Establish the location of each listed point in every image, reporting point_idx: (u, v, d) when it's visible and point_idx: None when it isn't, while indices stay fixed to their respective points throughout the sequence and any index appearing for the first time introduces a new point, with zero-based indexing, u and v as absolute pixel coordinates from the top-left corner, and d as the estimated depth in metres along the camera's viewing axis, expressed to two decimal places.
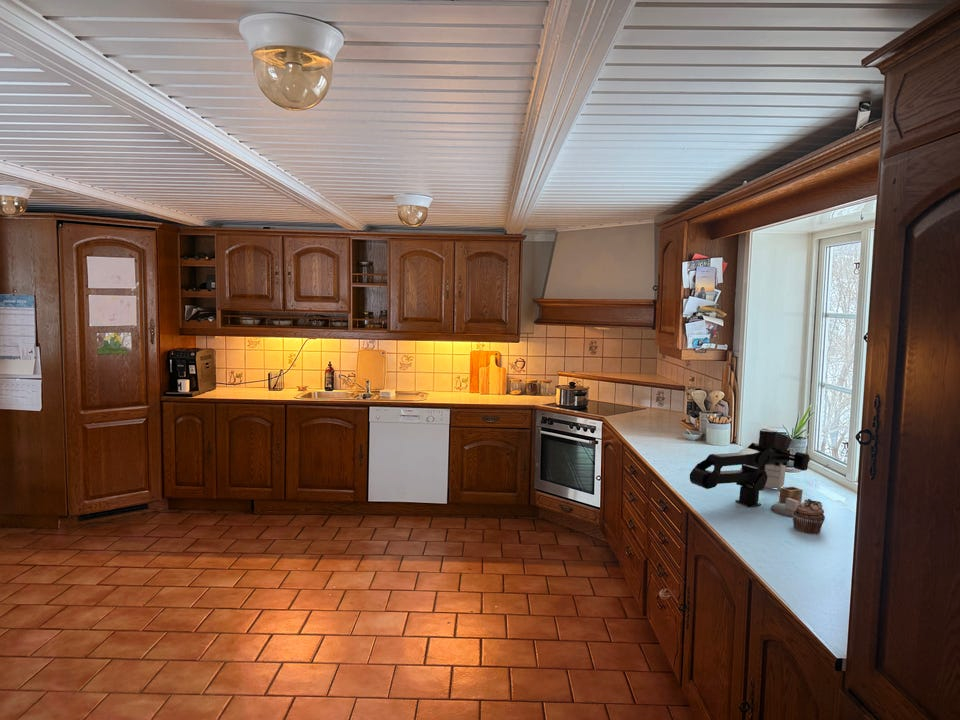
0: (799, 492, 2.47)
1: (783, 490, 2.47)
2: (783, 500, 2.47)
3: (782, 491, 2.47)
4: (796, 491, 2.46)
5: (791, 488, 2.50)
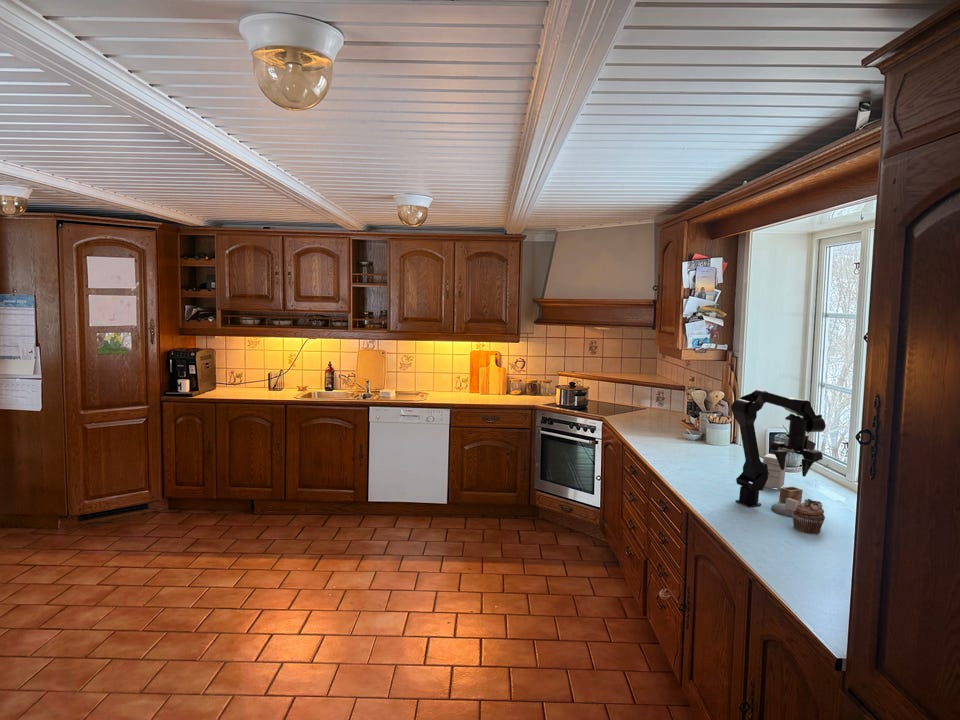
0: (799, 492, 2.47)
1: (783, 490, 2.47)
2: (783, 500, 2.47)
3: (782, 491, 2.47)
4: (796, 491, 2.46)
5: (791, 488, 2.50)
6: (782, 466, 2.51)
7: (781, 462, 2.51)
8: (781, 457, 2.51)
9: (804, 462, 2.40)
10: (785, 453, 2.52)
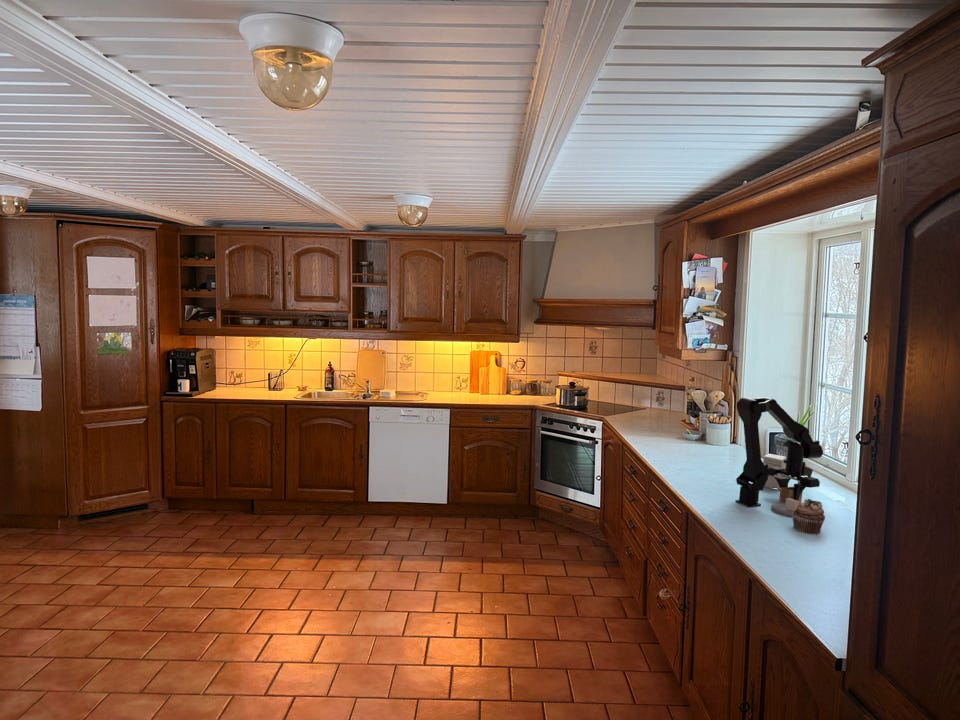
0: None
1: (783, 490, 2.47)
2: (783, 500, 2.47)
3: (782, 491, 2.47)
4: None
5: (791, 488, 2.50)
6: None
7: None
8: (783, 484, 2.50)
9: (795, 487, 2.43)
10: (787, 480, 2.51)
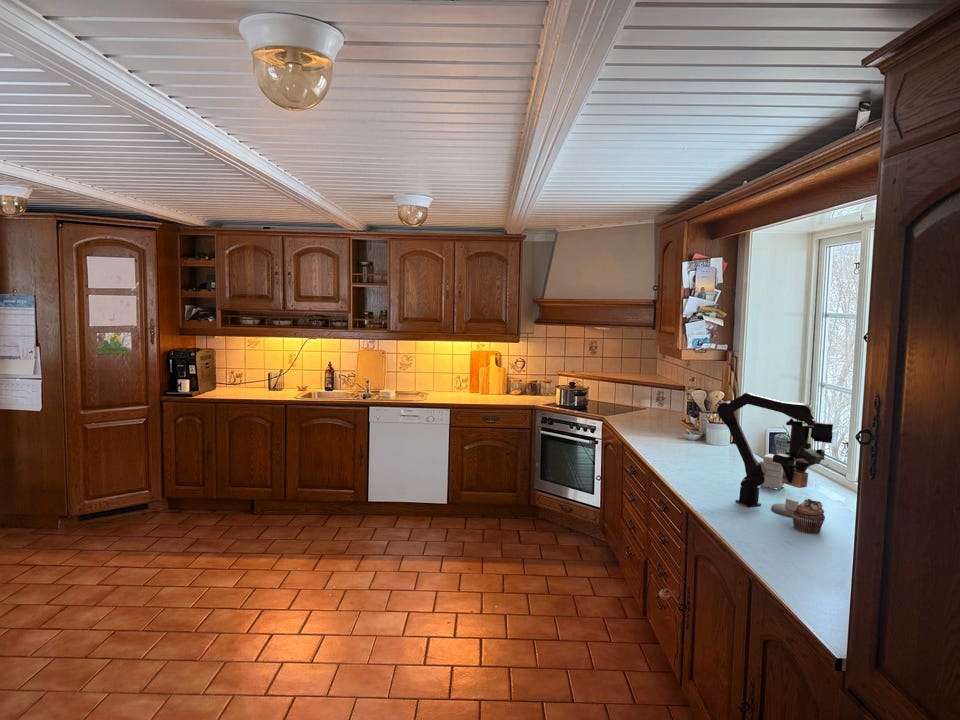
0: (795, 475, 2.31)
1: None
2: None
3: None
4: None
5: (802, 473, 2.33)
6: None
7: None
8: (798, 467, 2.36)
9: None
10: (804, 465, 2.34)
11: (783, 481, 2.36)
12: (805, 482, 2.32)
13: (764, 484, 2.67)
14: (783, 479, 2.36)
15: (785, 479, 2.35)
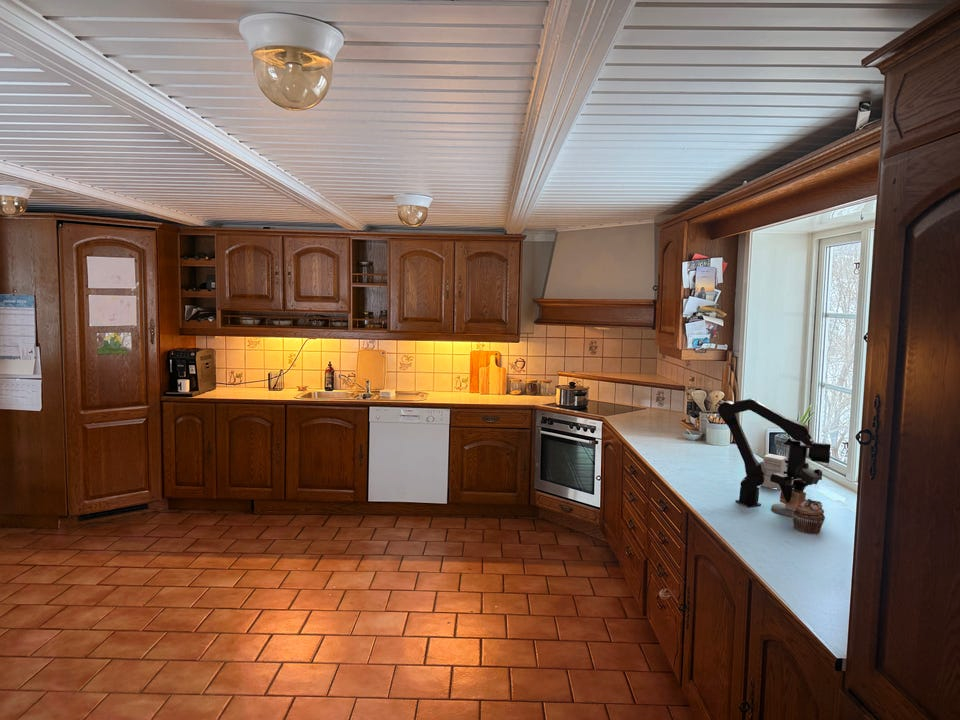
0: (793, 495, 2.32)
1: None
2: None
3: None
4: None
5: (800, 493, 2.33)
6: None
7: None
8: (796, 486, 2.37)
9: None
10: (802, 484, 2.34)
11: (781, 500, 2.36)
12: (803, 501, 2.32)
13: (764, 484, 2.67)
14: (781, 498, 2.36)
15: (783, 498, 2.36)
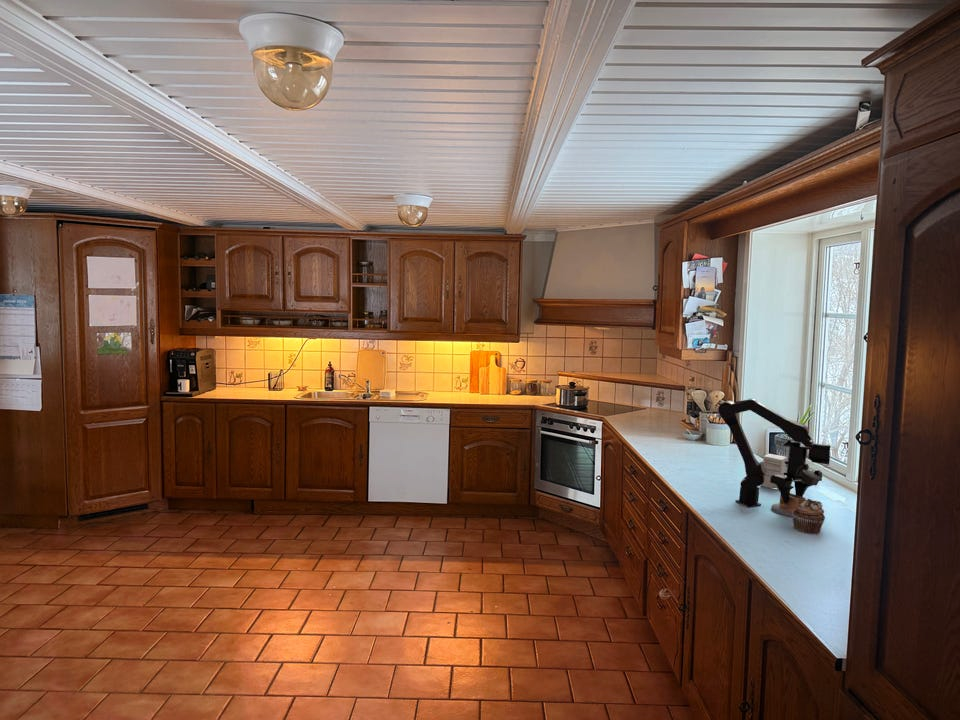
0: (792, 500, 2.32)
1: None
2: None
3: None
4: None
5: (800, 498, 2.34)
6: None
7: (796, 492, 2.37)
8: (797, 487, 2.37)
9: None
10: (804, 485, 2.35)
11: (780, 505, 2.37)
12: None
13: (764, 484, 2.67)
14: (780, 503, 2.37)
15: (782, 503, 2.36)
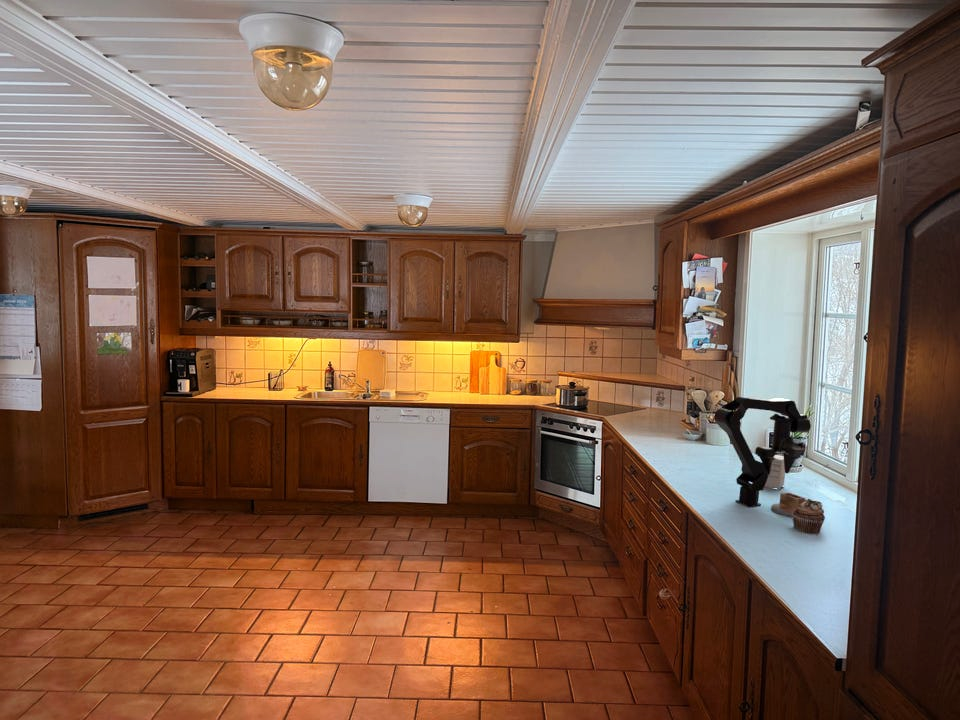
0: (792, 500, 2.32)
1: None
2: None
3: None
4: (788, 497, 2.34)
5: (800, 498, 2.34)
6: (785, 469, 2.47)
7: (785, 464, 2.47)
8: (786, 459, 2.47)
9: None
10: (792, 457, 2.45)
11: (780, 505, 2.37)
12: None
13: None
14: (780, 503, 2.37)
15: (782, 503, 2.36)
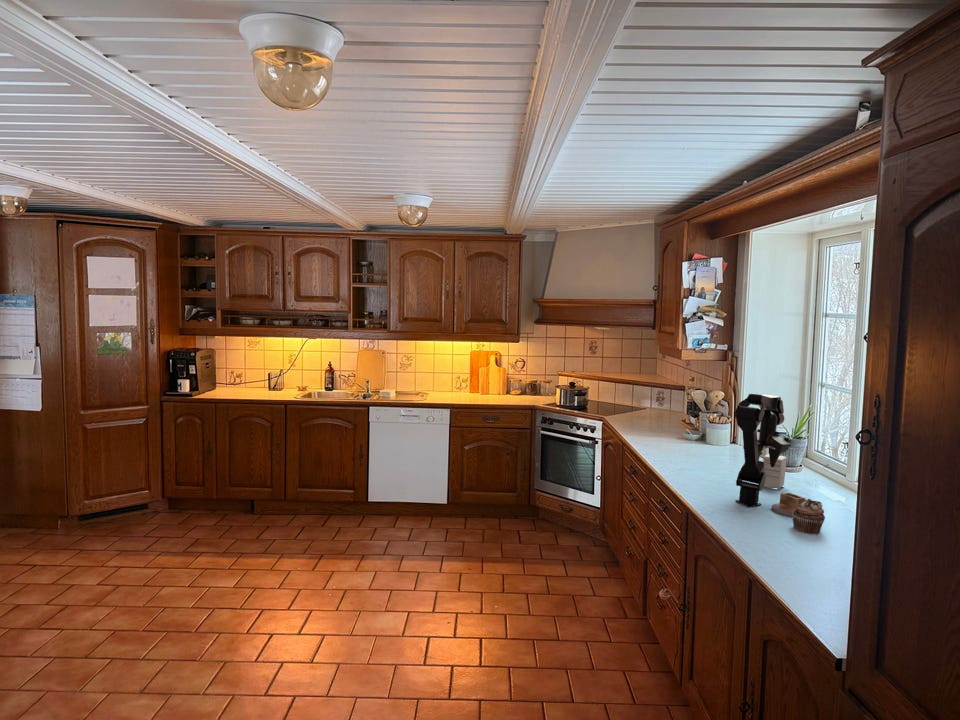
0: (792, 500, 2.32)
1: None
2: None
3: None
4: (788, 497, 2.34)
5: (800, 498, 2.34)
6: (771, 463, 2.55)
7: (770, 458, 2.56)
8: (771, 454, 2.55)
9: None
10: (777, 452, 2.53)
11: (780, 505, 2.37)
12: None
13: (764, 484, 2.67)
14: (780, 503, 2.37)
15: (782, 503, 2.36)
